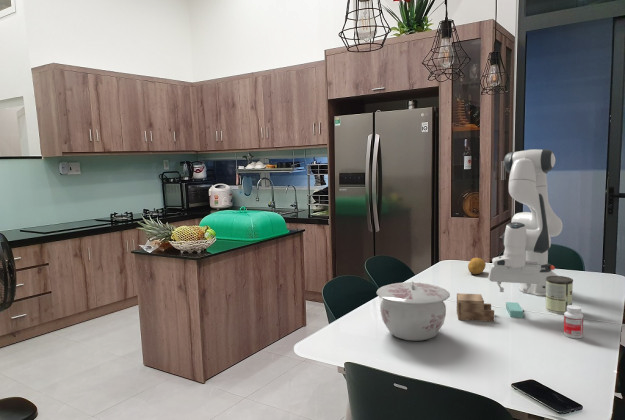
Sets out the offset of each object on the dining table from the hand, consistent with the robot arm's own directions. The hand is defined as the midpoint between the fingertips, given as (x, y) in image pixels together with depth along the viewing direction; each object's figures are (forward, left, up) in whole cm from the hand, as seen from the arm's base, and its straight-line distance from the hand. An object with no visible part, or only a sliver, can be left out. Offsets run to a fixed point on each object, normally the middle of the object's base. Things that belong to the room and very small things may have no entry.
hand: (513, 292), depth 194 cm
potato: (+7, -68, -9) cm, 69 cm away
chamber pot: (+41, +32, -9) cm, 53 cm away
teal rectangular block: (-1, 0, -9) cm, 9 cm away
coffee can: (-20, -6, -9) cm, 23 cm away
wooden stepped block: (+16, +8, -9) cm, 20 cm away
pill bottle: (-17, +24, -9) cm, 30 cm away
